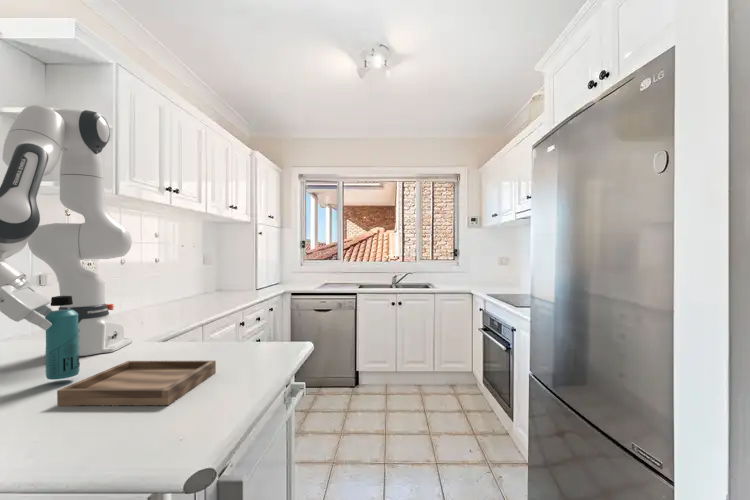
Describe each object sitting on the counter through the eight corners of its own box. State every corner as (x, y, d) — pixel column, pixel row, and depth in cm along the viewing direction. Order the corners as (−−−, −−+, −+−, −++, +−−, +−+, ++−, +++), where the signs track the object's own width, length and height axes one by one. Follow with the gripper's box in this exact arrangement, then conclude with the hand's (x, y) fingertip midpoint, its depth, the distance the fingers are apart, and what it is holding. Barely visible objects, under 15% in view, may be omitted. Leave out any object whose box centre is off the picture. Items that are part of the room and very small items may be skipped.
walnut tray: (128, 373, 103) (128, 360, 103) (215, 372, 102) (215, 360, 102) (57, 405, 81) (57, 390, 81) (168, 405, 80) (167, 390, 80)
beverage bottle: (61, 387, 93) (60, 297, 93) (37, 385, 94) (36, 297, 94) (87, 378, 99) (86, 294, 99) (64, 377, 100) (63, 294, 100)
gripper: (-5, 275, 83) (57, 319, 88) (23, 271, 101) (73, 308, 106) (-35, 298, 81) (30, 343, 85) (-1, 291, 99) (51, 328, 103)
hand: (54, 324), depth 96 cm, fingers open, 8 cm apart
